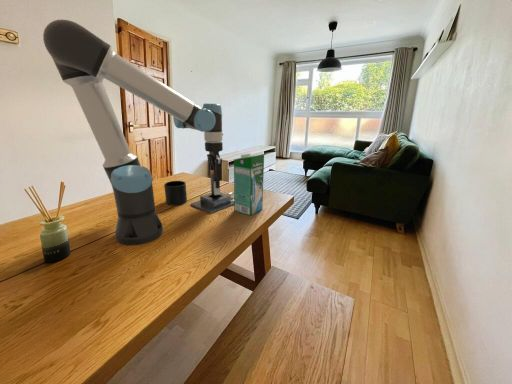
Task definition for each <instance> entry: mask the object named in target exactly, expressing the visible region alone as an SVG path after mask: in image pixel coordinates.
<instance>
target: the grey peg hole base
mask: <svg viewBox="0 0 512 384" xmlns="http://www.w3.org/2000/svg"><path fill="white" fill-rule="evenodd" d="M232 196H234V191H231V192H229V193H223V192H221V191H220V197H219V198H216V199H214V198H212V192H210V193H206V194H204V195H200V196H199V198H200V199H199V200H198V201H195V202H191V203H190V206H191V207H194V208H196V209H199V210H200V211H203V212H205V213H208V214H213V213H216V212H218V211H221V210H224V209H226V208H227V209H228V207H229V208H230V207H232V206H234V197H232Z"/></svg>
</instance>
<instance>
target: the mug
mask: <svg viewBox="0 0 512 384" xmlns="http://www.w3.org/2000/svg"><path fill="white" fill-rule="evenodd" d="M164 195H165V203H166V204H167V205H168V206H180V205H183V204H185V203H187V201H188V199H187V198H188V197H187V196H188V195H187V185H186V181H183V180H171V181H167V182H165V183H164Z"/></svg>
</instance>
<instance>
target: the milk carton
mask: <svg viewBox="0 0 512 384" xmlns="http://www.w3.org/2000/svg"><path fill="white" fill-rule="evenodd" d="M264 167H265V154H264V153H260V154H256V155H255V154H254V155H251V153H245V154H241V155H240V158H239V157H238V158H235V159H233V192H234V195H233V199H234V205H233V207H234V209H233V210H234V211H235V212H238V213H241V214H244V215H248V216H251V217H252V215H254V214H256V213H257V212H260V211H262V210H263V206H264V205H263V204H264V203H263V201H264V199H263V198H264V173H265V172H264V171H265V169H264Z"/></svg>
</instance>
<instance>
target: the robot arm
mask: <svg viewBox="0 0 512 384" xmlns="http://www.w3.org/2000/svg"><path fill="white" fill-rule="evenodd" d="M42 36H43V37H42V38H43V40H42V41H43V44H44V46H45V49H46V51H47V52H48V54H49V55H50V57H51V59H52V61H53V62H54V65H55V66H56V70H57V71H58V74H59V75H60V77H61V79H62V82H63V83H65V84H66V85H68V86H70V87H71V88H72V90H73V92H74V95H75V97H76V99H77V101H78V103H79V106H80V108H81V110H82V112H83V113H84V114H83V115H84V117H85V119H86V122H87V123H88V125H89V127H90V129H91V131H92V132H91V133H92V135H93V136H94V138H95V140H96V142H97V145H98V146H99V147H98V148H99V149H100V151H101V153H102V155H103V158H104V162H103V164H102V168H103V169H104V172H105V174H106V176H107V178H108V180H109V183H110V185H111V188H112V192H113V196H114V201H115V206H116V212H117V221H116V225H115V231H114V236H115V240H116V241H117V243H119V244H120V245H124V246H125V245H126V246H136V245H138V246H139V245H142V244H146V243H150V242H152V241H155V240H157V239H158V238H160V237H161V236H162V235H163V233H164V226H163V223H162V221H161V219H160V217H159V215H158V213H157V211H156V203H155V196H154V187H153V186H154V185H153V176H152V173H151V171H150V169H149V168H148V167H146V166H142V165H141V163H140V161H139V157H138V156H137V155H136V154H134V153H132V152H131V150H130V148H129V145H128V141H127V139H126V138H125V135H124V133H123V130H122V127H121V125H120V122H119V119H118V118H117V115H116V113H115V111H114V107H113V105H112V102H111V100H110V97H109V95H108V92H107V91H106V88H105V85H104V83H103V81H104V79H105V80H106V81H109V82H111V83H112V84H114V85H115V86H118V87H119V88H122V89H123V90H125V91H127V92H129V93H131V94H132V95H134V96H136V97H138V98H139V99H141V100H143V101H145V102H146V103H148V104H150V105H152V106H154V107H156V108H158V109H159V110H161V111H163V112H165V113H166V114H168V115H170V116H172V117H173V118H172V119H173V123H174V126H175V128H177V129H191V130H196V131H199V132H202V133H203V132H204V133H203V136H204V137H203V138H204V149H205V152H208V154H206V157H207V168H208V176H209V178H210V179H209V180H210V181H211V170H212V169H213V172H214V180H213V182H214V195H219V194H220V192H221V181H223V178H222V177H223V174H222V173H223V170H222V169H223V168H222V167H223V165H222V164H223V158H221V155H220V152H222V151H223V150H224V149H223V147H224V146H223V143H224V142H222V141H223V136H224V134H223V112H222V105H221V104H220V103H203V104H202V106H200V105H198V104H196V103H195V102H193V101H192V100H190V99H189V98H187V97H185V96H184V95H182V94H181V93H180V92H178V91H176V90H174V89H173V88H171V87H170V86H168V85H167V84H165V83H163V82H162V81H160V80H159V79H157V78H155V77H154V76H152V75H151V74H149V73H148V72H146V71H144V70H143V69H142V68H140V67H138V66H136V65H135V64H134V63H132V62H130V61H128V60H127V59H125V58H124V57H122V56H121V55H119V54H118V53H116V52H115V50H114V49H113V46H112V45H110V44H109V43H107V42H105V40H103V39H102V38H100V37H99V36H97V35H96V34H94V33H93V32H92V31H90V30H88V29H87V28H85V27H84V26H83V25H81V24H79V23H77V22H75V21H71V20H68V19H56V20H52V21H51V22H49V23H48V24H47V26H45V28H44V30H43V35H42ZM210 193H212V191H211V190H210Z"/></svg>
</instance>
